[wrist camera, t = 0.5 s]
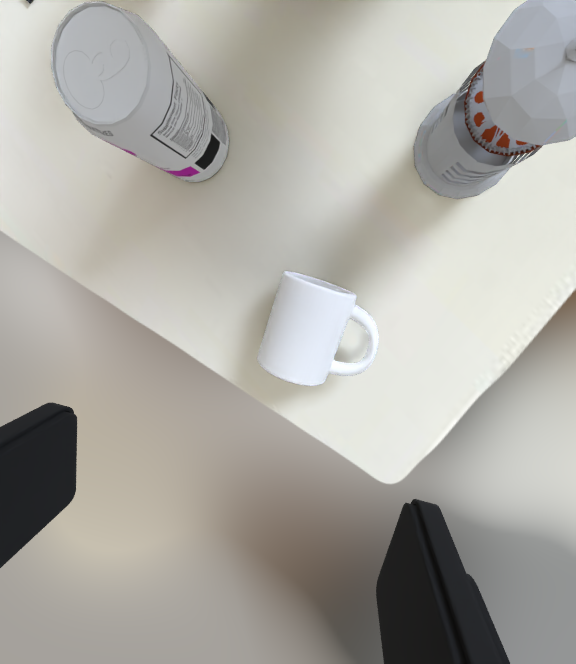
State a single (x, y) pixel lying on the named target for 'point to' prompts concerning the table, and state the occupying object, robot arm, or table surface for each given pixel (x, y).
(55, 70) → the supplement can
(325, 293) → the mug
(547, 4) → the french press
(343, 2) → the table surface
